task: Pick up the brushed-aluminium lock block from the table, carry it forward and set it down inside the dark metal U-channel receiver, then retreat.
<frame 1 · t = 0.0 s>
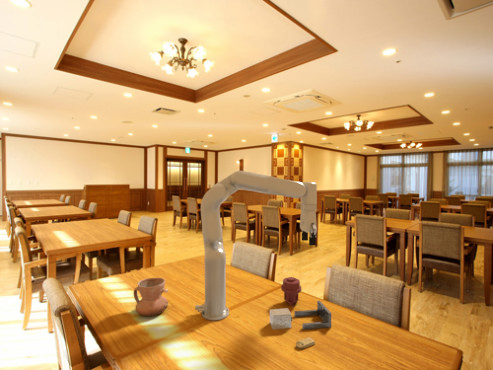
hand: (308, 242, 129), 31 cm above the table, fingers open, 9 cm apart
aluminium lock block: (280, 325, 113), on the table
brass key tag: (306, 344, 100), on the table
mechanical component: (291, 303, 133), on the table
ceramic jug: (151, 311, 125), on the table
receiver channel: (310, 321, 116), on the table
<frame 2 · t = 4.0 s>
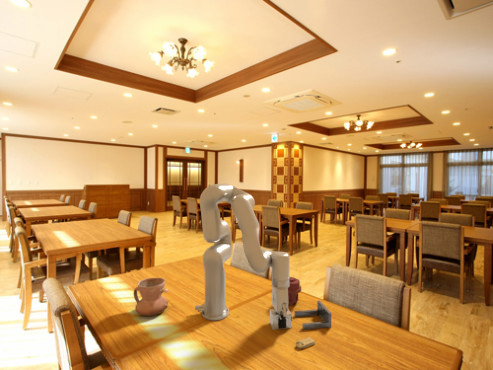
hand: (280, 323, 113), 1 cm above the table, fingers closed on aluminium lock block, 5 cm apart
aluminium lock block: (280, 325, 113), on the table, touching gripper
everything else where it was.
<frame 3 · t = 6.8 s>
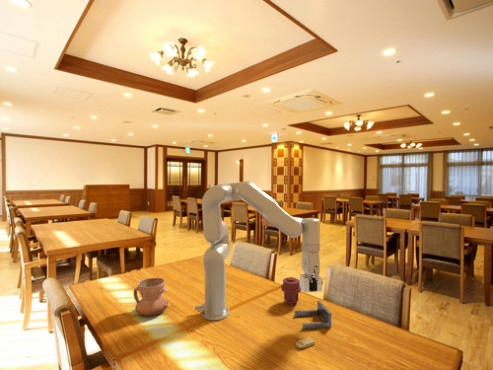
hand: (310, 287, 116), 15 cm above the table, fingers closed on aluminium lock block, 5 cm apart
aluminium lock block: (310, 289, 116), point 14 cm above the table, touching gripper
everything else where it was.
when the fingers open (3 cm above the table, at t = 9.7 s): aluminium lock block drops 2 cm, on the table.
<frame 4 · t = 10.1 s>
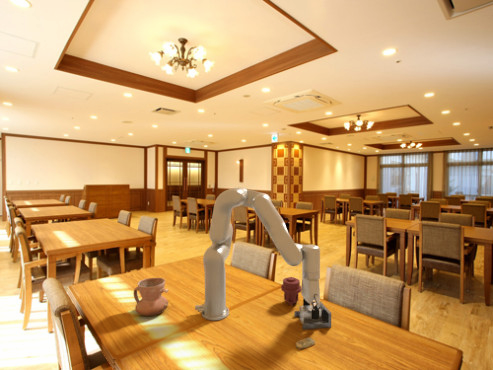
hand: (310, 312, 116), 4 cm above the table, fingers open, 9 cm apart
aluminium lock block: (310, 321, 116), on the table
everything else where it was.
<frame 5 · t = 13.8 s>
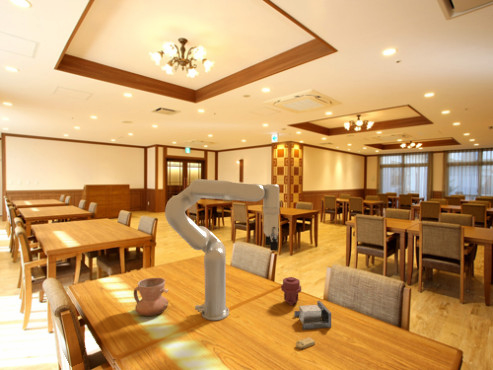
hand: (271, 247, 124), 30 cm above the table, fingers open, 9 cm apart
nothing on the table moved.
at the end: aluminium lock block inside the target area (0.3 cm from its centre), on the table; the gripper is holding nothing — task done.
